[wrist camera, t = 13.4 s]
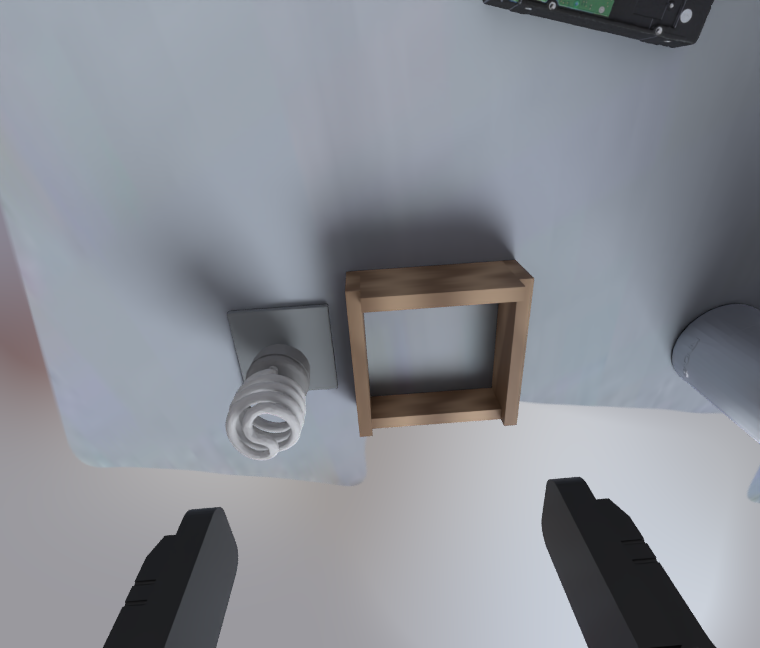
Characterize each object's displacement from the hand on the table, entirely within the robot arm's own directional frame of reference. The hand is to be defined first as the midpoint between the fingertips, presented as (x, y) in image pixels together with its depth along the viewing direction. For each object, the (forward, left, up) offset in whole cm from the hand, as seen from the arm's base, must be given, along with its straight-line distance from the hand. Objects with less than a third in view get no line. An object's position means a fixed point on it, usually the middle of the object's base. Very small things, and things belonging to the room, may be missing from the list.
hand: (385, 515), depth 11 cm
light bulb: (+8, +11, -28) cm, 31 cm away
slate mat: (+9, +11, -28) cm, 32 cm away
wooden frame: (-5, +11, -28) cm, 31 cm away
